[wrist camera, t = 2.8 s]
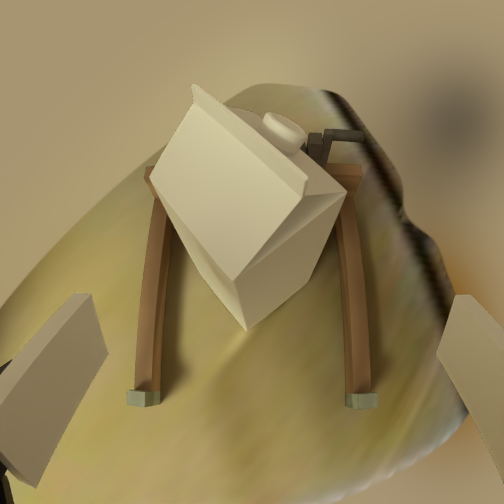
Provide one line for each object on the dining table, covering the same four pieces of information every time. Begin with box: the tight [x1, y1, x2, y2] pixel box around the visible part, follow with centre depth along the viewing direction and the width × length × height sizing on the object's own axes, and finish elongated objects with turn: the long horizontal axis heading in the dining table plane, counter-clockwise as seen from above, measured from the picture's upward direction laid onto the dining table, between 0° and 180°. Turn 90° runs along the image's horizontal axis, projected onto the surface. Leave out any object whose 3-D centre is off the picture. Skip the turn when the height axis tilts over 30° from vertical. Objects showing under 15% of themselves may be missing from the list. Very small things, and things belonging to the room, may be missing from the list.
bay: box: [127, 129, 377, 410], centre depth 23 cm, size 19×21×11 cm
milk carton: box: [149, 84, 347, 332], centre depth 20 cm, size 7×7×19 cm
